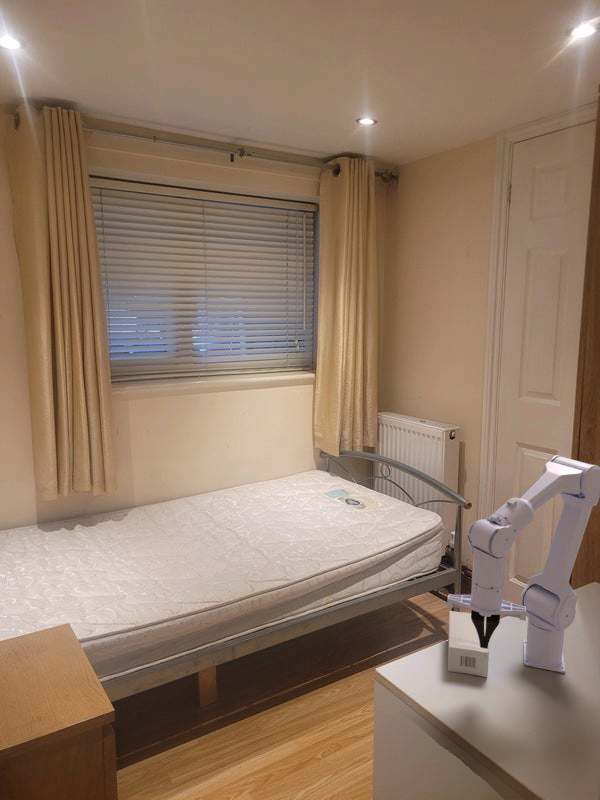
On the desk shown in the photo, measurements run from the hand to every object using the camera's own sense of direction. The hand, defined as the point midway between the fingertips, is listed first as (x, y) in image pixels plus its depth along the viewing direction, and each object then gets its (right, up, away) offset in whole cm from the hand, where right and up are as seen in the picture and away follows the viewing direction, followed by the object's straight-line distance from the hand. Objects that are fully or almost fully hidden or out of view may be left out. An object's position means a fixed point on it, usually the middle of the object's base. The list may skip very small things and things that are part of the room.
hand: (484, 645), depth 114 cm
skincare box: (-2, -6, +5) cm, 8 cm away
